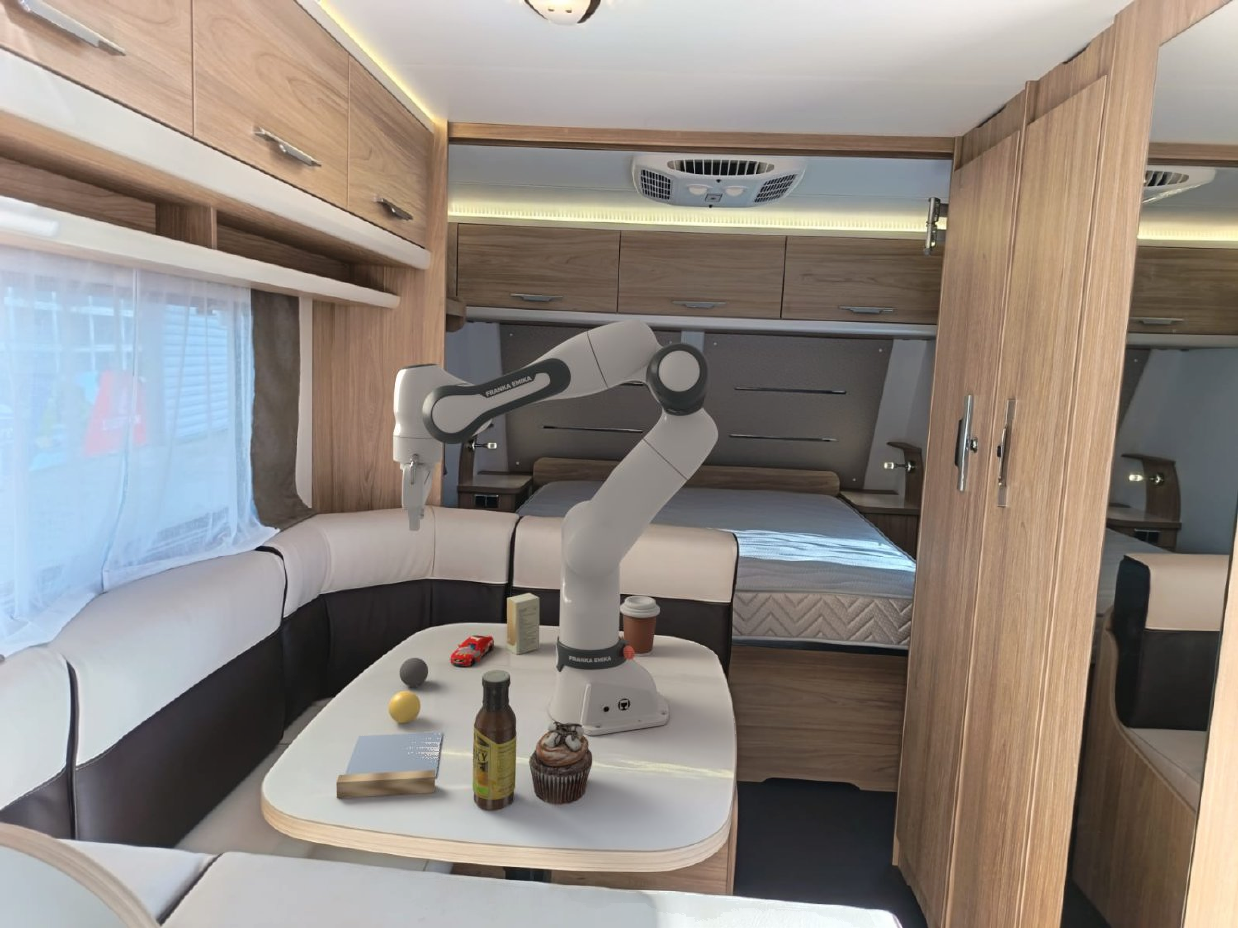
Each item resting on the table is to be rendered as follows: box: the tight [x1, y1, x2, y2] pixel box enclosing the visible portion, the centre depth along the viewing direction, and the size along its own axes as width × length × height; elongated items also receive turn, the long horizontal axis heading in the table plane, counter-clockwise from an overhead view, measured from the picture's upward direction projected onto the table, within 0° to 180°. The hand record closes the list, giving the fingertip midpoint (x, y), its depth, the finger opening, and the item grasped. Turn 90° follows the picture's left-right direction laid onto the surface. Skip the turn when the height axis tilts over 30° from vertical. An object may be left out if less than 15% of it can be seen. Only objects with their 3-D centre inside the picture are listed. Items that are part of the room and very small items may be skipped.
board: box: [344, 731, 444, 779], centre depth 123 cm, size 14×14×1 cm
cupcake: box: [528, 720, 593, 805], centre depth 115 cm, size 10×10×10 cm
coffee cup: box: [620, 595, 661, 658], centre depth 170 cm, size 9×9×12 cm
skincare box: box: [506, 592, 540, 656], centre depth 168 cm, size 6×4×12 cm
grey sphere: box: [399, 657, 429, 687], centre depth 149 cm, size 6×6×6 cm
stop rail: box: [336, 770, 436, 799], centre depth 113 cm, size 14×2×2 cm, turn 99°
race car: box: [449, 634, 495, 667], centre depth 164 cm, size 13×5×4 cm, turn 161°
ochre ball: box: [388, 690, 422, 724], centre depth 134 cm, size 6×6×6 cm
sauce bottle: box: [472, 669, 517, 811], centre depth 110 cm, size 6×6×20 cm
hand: (417, 524), depth 141 cm, fingers open, 8 cm apart
